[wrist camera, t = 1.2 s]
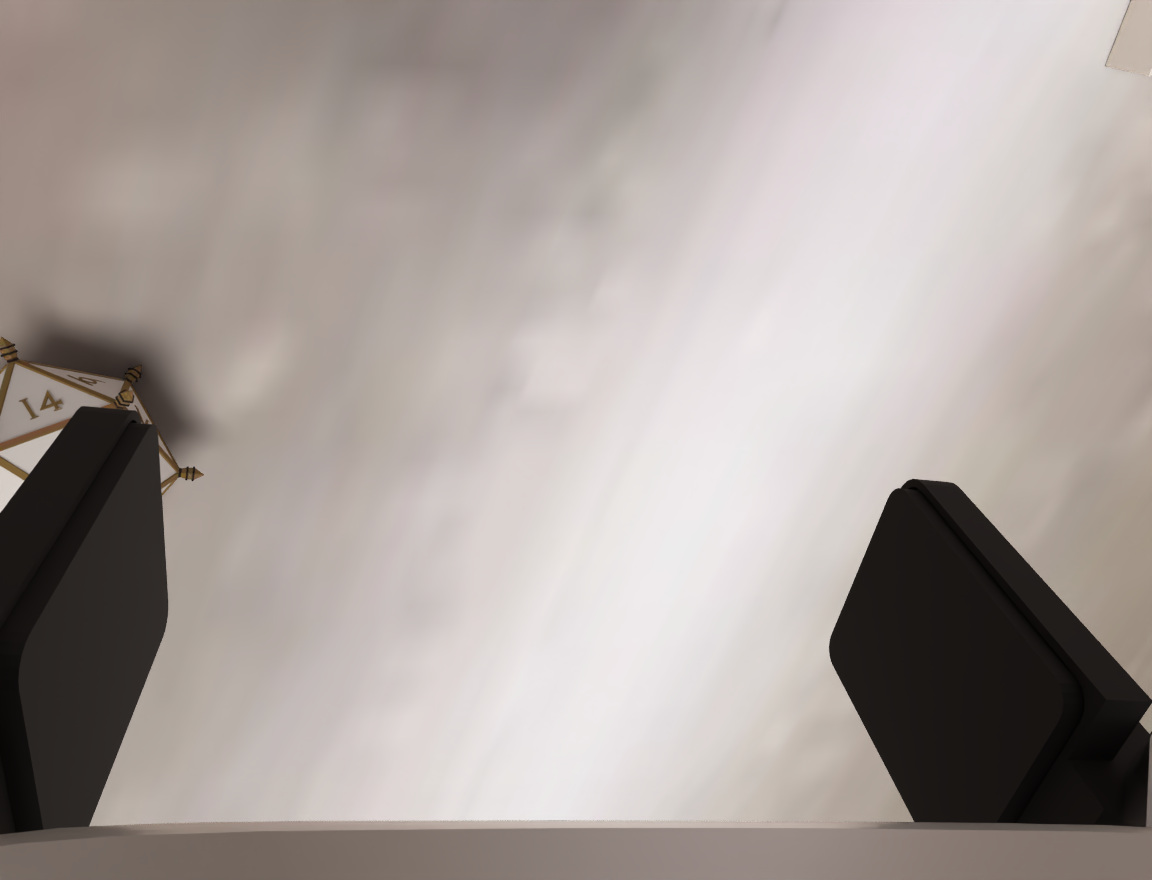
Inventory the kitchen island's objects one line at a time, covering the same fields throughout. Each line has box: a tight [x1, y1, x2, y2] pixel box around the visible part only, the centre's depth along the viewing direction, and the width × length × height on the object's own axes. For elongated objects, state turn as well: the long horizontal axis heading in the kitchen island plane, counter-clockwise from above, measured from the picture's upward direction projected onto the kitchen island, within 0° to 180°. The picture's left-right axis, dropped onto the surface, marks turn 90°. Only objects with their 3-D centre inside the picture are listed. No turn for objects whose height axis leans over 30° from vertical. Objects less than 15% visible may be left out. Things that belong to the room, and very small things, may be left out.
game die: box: [0, 337, 204, 513], centre depth 33 cm, size 9×8×10 cm
